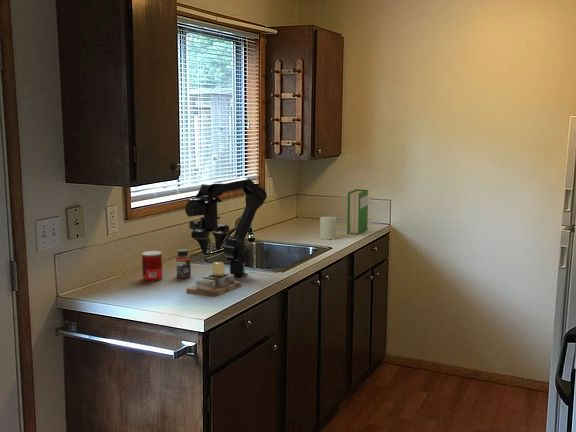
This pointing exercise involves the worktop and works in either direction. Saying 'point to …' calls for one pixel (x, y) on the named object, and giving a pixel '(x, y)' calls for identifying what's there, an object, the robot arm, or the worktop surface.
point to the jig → (214, 285)
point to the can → (328, 227)
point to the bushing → (218, 269)
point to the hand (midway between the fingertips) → (211, 252)
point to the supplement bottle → (183, 264)
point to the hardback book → (357, 211)
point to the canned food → (152, 265)
